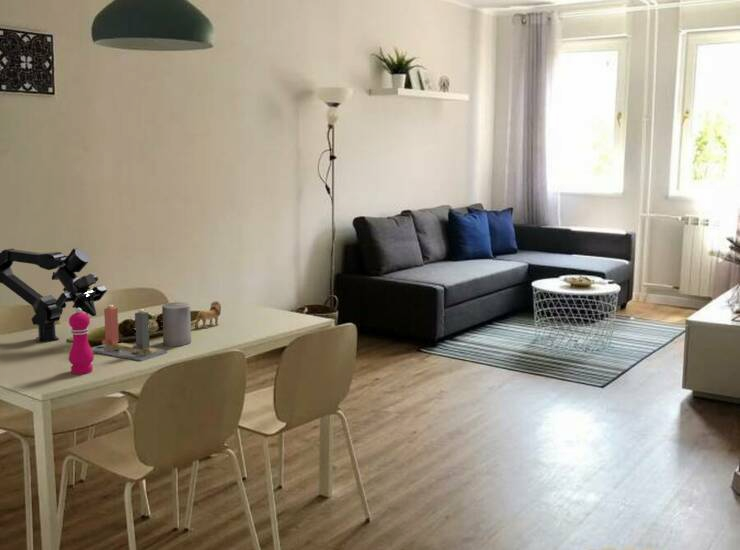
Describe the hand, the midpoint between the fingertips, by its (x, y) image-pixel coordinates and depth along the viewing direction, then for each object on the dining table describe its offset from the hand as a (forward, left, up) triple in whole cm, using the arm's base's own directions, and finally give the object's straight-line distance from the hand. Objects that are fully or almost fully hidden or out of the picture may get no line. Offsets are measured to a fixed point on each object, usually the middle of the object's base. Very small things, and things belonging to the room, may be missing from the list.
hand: (95, 315), depth 279 cm
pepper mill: (+30, -13, -11) cm, 35 cm away
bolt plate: (+15, +6, -11) cm, 19 cm away
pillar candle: (+11, +25, -11) cm, 29 cm away
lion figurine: (-8, +45, -11) cm, 47 cm away
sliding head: (+8, +2, -10) cm, 12 cm away
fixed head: (+20, +9, -10) cm, 24 cm away
